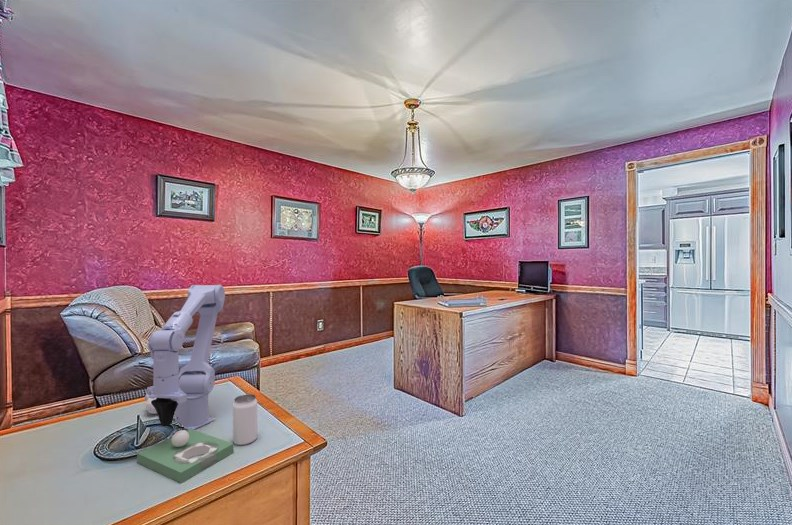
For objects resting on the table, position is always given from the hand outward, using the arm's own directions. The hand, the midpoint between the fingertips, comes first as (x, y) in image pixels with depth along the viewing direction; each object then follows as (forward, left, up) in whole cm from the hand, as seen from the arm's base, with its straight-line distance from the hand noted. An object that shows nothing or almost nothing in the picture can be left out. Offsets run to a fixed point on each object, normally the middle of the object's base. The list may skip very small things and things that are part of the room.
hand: (166, 424), depth 94 cm
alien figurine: (-26, +13, -7) cm, 29 cm away
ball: (+6, 0, -3) cm, 7 cm away
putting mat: (+8, 0, -7) cm, 11 cm away
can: (+15, +13, -7) cm, 21 cm away
